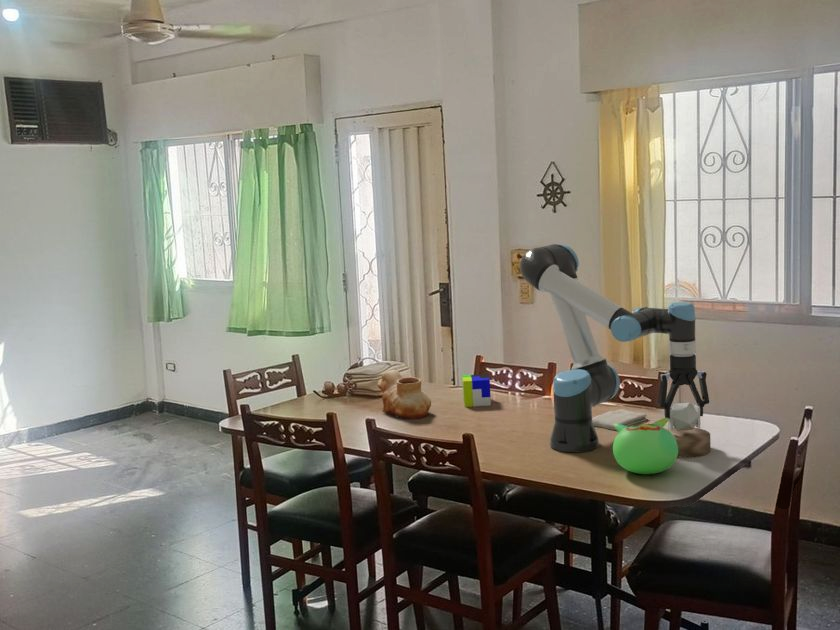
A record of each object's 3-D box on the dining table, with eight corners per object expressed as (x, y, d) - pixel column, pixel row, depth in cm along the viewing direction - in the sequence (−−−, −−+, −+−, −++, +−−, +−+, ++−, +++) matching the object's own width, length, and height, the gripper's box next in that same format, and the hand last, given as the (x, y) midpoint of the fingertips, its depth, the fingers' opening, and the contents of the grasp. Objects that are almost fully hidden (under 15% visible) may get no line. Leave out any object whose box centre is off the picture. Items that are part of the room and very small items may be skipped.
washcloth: (648, 420, 313) (648, 411, 312) (617, 432, 301) (616, 423, 300) (620, 415, 321) (619, 406, 321) (588, 426, 310) (587, 418, 309)
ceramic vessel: (401, 402, 358) (398, 365, 355) (439, 414, 336) (437, 375, 334) (371, 409, 350) (368, 371, 348) (408, 422, 329) (405, 381, 326)
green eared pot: (615, 481, 254) (613, 430, 251) (612, 462, 270) (610, 414, 268) (681, 481, 251) (680, 429, 248) (674, 461, 267) (673, 413, 265)
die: (694, 436, 270) (707, 407, 272) (668, 423, 271) (681, 394, 273) (685, 438, 278) (698, 410, 280) (660, 425, 279) (672, 397, 281)
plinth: (668, 459, 270) (668, 443, 269) (652, 444, 284) (652, 429, 284) (718, 455, 270) (718, 438, 270) (699, 440, 285) (699, 425, 284)
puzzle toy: (491, 405, 344) (489, 379, 343) (464, 407, 345) (463, 381, 343) (489, 399, 354) (488, 373, 353) (463, 400, 354) (462, 375, 353)
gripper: (653, 359, 269) (654, 433, 272) (721, 354, 270) (721, 428, 273) (645, 354, 276) (647, 427, 279) (711, 349, 277) (712, 421, 281)
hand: (684, 427), depth 276 cm, fingers closed on die, 8 cm apart
